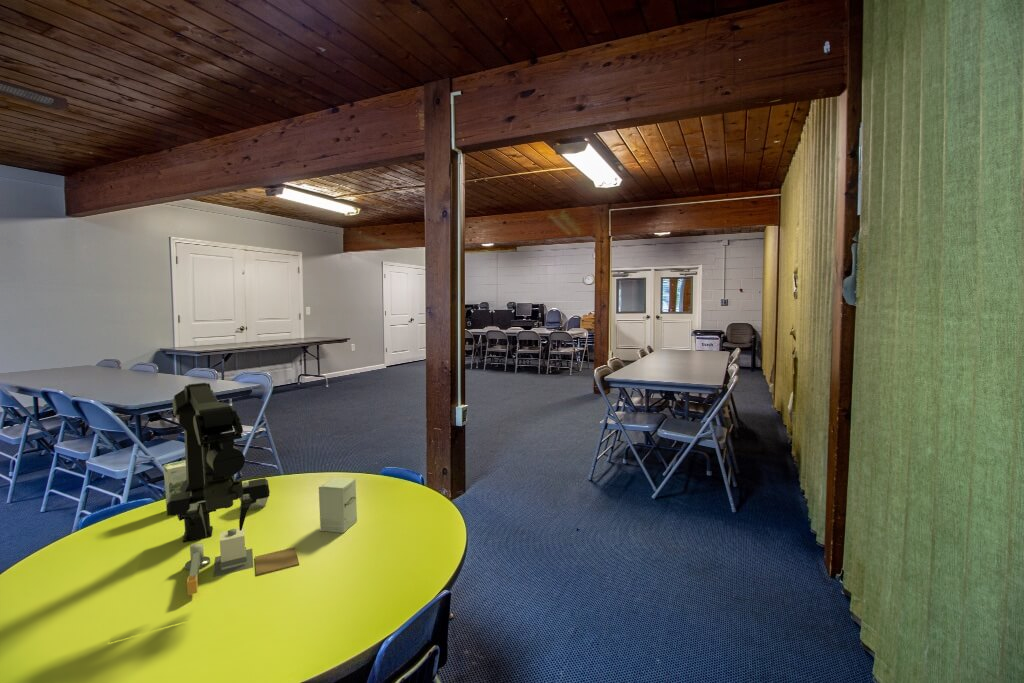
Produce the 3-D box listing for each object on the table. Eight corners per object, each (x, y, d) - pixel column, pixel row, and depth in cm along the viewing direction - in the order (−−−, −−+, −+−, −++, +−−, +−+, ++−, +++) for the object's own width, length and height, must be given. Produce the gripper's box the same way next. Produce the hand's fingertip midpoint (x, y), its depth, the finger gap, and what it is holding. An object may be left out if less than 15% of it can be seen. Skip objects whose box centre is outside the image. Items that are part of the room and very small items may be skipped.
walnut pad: (255, 558, 118) (255, 556, 118) (295, 549, 123) (295, 546, 123) (256, 577, 110) (256, 574, 110) (299, 565, 115) (299, 563, 115)
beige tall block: (221, 559, 118) (219, 528, 117) (246, 553, 120) (244, 523, 119) (220, 570, 113) (218, 538, 112) (246, 564, 115) (245, 532, 115)
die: (232, 510, 148) (230, 492, 142) (250, 487, 155) (249, 468, 149) (259, 520, 148) (258, 501, 142) (276, 496, 155) (276, 477, 149)
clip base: (186, 564, 116) (186, 560, 116) (210, 558, 119) (210, 554, 119) (184, 574, 112) (184, 569, 112) (209, 568, 114) (209, 563, 114)
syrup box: (188, 504, 151) (185, 459, 150) (193, 510, 147) (189, 463, 145) (166, 510, 147) (162, 463, 145) (170, 516, 143) (166, 468, 141)
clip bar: (191, 559, 116) (190, 544, 115) (204, 556, 117) (203, 541, 117) (185, 595, 101) (183, 578, 101) (199, 592, 103) (198, 575, 102)
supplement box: (344, 533, 131) (342, 488, 130) (319, 531, 132) (317, 486, 131) (358, 521, 138) (356, 478, 137) (334, 519, 139) (332, 476, 138)
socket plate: (215, 558, 119) (215, 557, 119) (252, 549, 123) (252, 548, 123) (213, 578, 110) (213, 576, 110) (253, 568, 114) (253, 567, 114)
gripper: (160, 485, 93) (166, 562, 95) (268, 467, 102) (272, 538, 104) (167, 468, 103) (173, 538, 104) (265, 453, 112) (269, 518, 113)
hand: (223, 533), depth 106 cm, fingers open, 6 cm apart
